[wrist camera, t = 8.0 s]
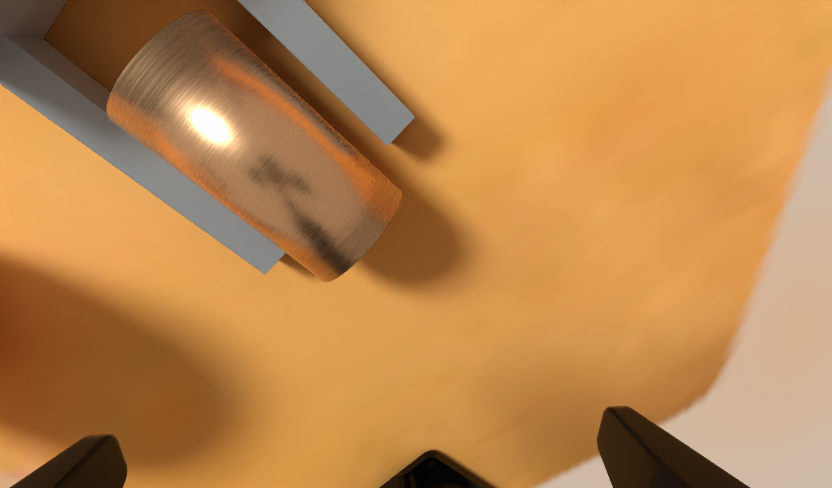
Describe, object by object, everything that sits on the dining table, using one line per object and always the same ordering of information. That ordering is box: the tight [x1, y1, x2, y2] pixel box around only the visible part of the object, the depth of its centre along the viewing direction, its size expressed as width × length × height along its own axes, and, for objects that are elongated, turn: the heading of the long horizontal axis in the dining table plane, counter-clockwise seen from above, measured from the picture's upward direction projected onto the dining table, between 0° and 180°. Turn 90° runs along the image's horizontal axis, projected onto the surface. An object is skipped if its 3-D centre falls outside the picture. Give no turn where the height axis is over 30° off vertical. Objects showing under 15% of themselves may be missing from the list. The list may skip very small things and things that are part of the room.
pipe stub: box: [106, 10, 402, 282], centre depth 14 cm, size 8×4×4 cm
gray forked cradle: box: [0, 0, 415, 274], centre depth 12 cm, size 13×8×6 cm, turn 45°
